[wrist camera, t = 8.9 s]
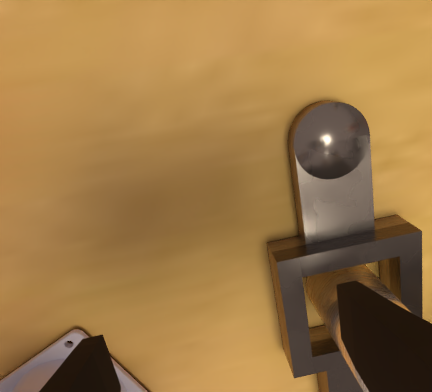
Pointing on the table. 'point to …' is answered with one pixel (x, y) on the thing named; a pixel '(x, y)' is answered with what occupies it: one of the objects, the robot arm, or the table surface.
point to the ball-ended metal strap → (336, 236)
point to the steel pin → (328, 302)
